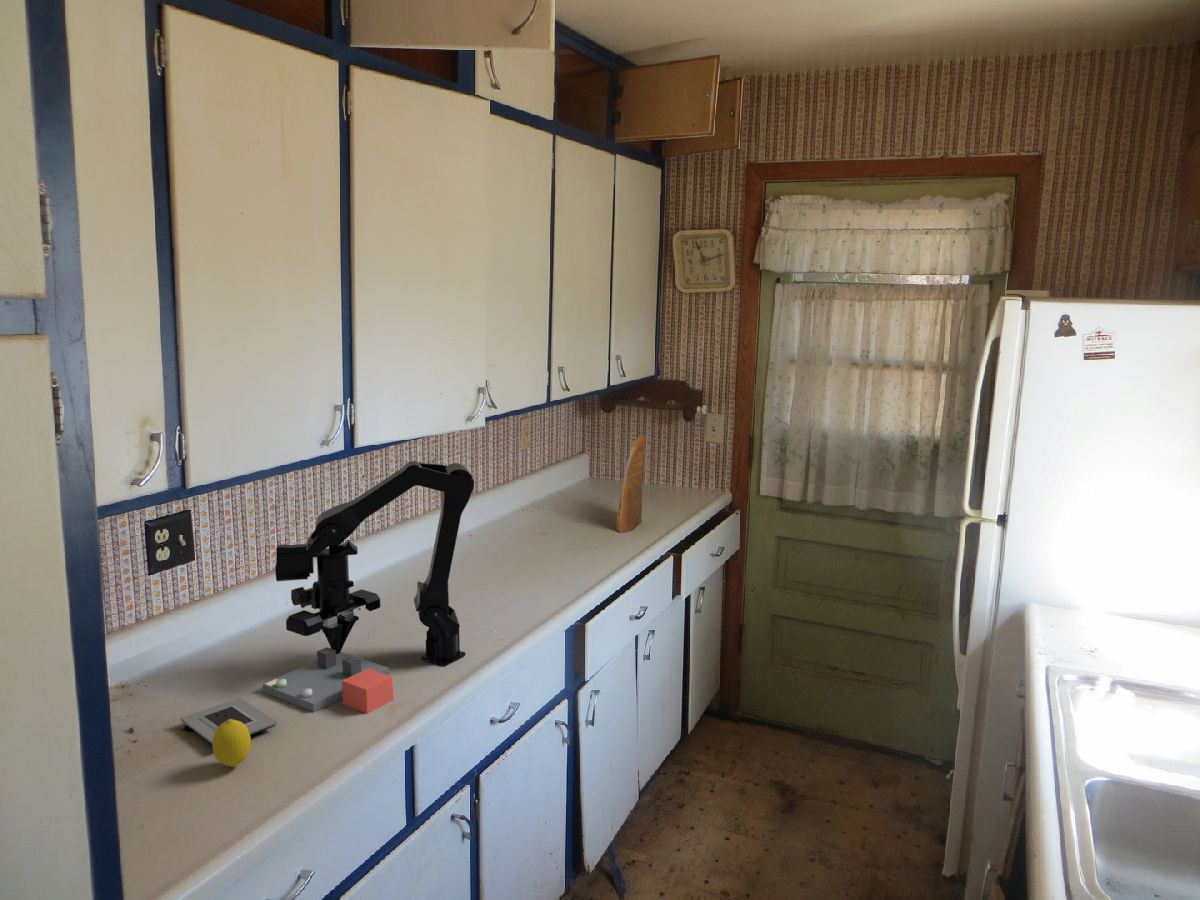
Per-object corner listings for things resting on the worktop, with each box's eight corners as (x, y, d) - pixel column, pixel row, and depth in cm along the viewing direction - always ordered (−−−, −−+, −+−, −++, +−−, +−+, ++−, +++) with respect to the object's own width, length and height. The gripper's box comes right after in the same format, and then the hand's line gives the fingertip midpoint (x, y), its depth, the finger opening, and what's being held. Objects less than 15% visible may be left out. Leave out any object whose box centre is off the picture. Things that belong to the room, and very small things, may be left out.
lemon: (207, 774, 140) (203, 726, 139) (227, 756, 145) (223, 709, 144) (240, 778, 139) (236, 729, 138) (259, 759, 145) (256, 712, 143)
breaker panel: (339, 658, 182) (338, 646, 182) (389, 675, 175) (388, 663, 174) (262, 691, 168) (262, 679, 167) (313, 712, 160) (313, 698, 160)
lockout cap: (369, 691, 168) (368, 668, 167) (393, 699, 165) (392, 676, 164) (343, 704, 163) (341, 680, 162) (367, 713, 160) (366, 689, 159)
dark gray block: (327, 661, 177) (326, 647, 176) (336, 664, 176) (335, 650, 175) (317, 666, 175) (317, 651, 174) (326, 669, 174) (325, 654, 173)
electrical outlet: (278, 733, 154) (277, 720, 153) (217, 757, 146) (216, 743, 145) (240, 708, 162) (239, 695, 162) (180, 729, 154) (179, 716, 154)
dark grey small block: (352, 670, 173) (352, 655, 173) (361, 673, 172) (360, 658, 171) (342, 674, 171) (342, 659, 171) (351, 678, 170) (351, 663, 169)
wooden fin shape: (650, 519, 287) (652, 432, 281) (632, 535, 269) (633, 442, 264) (630, 517, 289) (631, 430, 283) (610, 533, 271) (611, 440, 266)
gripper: (342, 557, 186) (345, 629, 189) (264, 581, 171) (269, 659, 174) (381, 567, 180) (383, 641, 183) (304, 593, 165) (308, 674, 168)
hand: (336, 653), depth 177 cm, fingers closed
